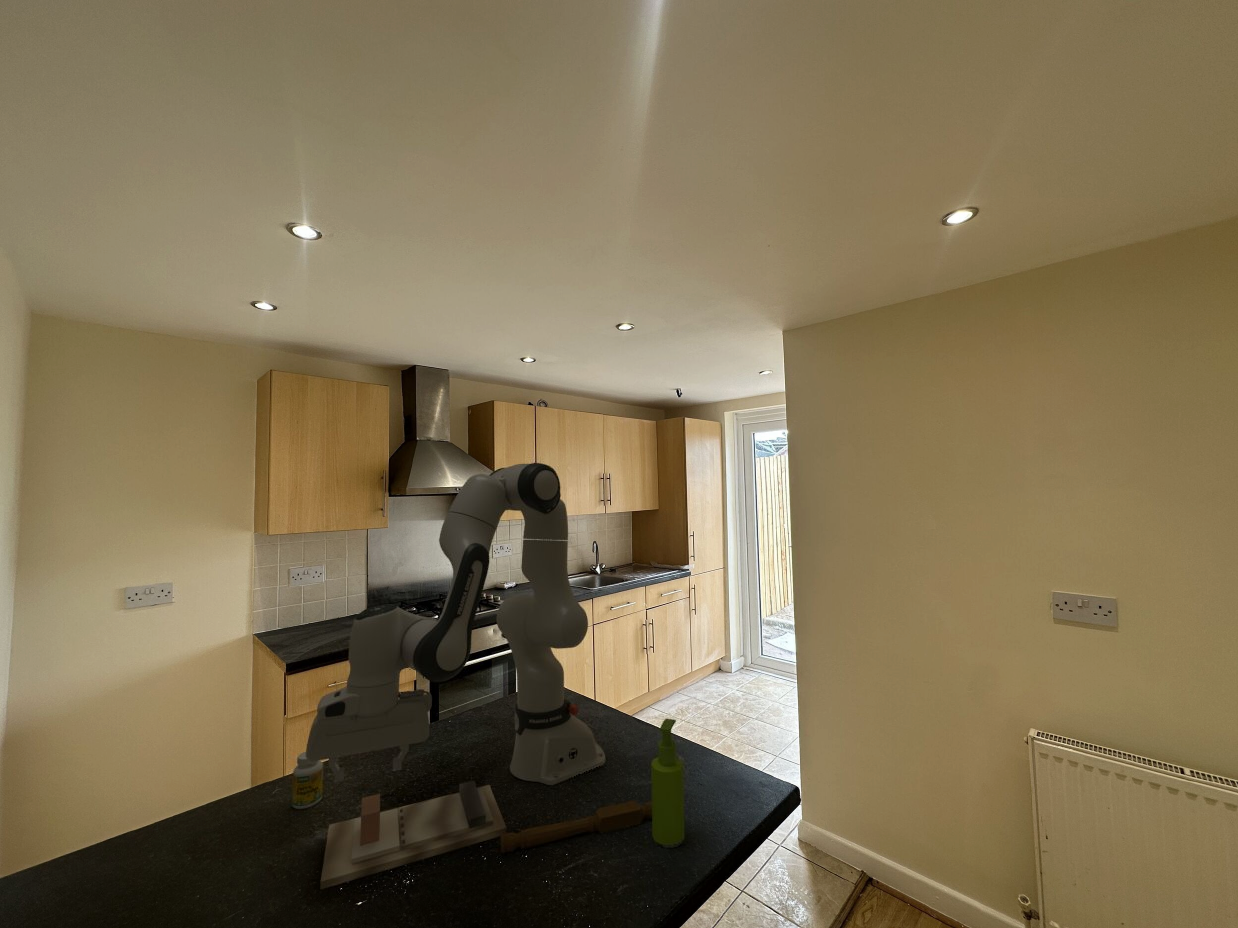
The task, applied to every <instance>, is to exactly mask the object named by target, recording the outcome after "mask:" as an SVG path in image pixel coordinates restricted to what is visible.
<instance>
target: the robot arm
mask: <svg viewBox="0 0 1238 928" xmlns="http://www.w3.org/2000/svg"><path fill="white" fill-rule="evenodd" d="M561 495H562V494H561V483H560V478H559V476H558V474H557V472H556V470H555V469H554V468H553V467H552V466H550V465H548V464H545V463H541V462H531V463H517V464H514V465H511V466H507V467H500V468H498V469H496V470H494V471H492V472H491V473H490V474H485V473H479V474H478V473H477V474H474V475H471V476H469V477H468V479H467V480H466V481H465V482H464V484H463V485H462V486H461V488H460V490H459V491H458V493H457V494H456V496H455V497H454V500H453V502H452V503H451V506H450V508H449V509H448V511H447V514H446V516H445V518H444V521H443V523H442V525H441V530H440V534H439V538H438V542H439V547H440V549H441V551H442V553H443V554H444V556H445V557H446V558H447V559H448V561H449V563H450V564H451V568H452V581H451V583H450V586H449V590H448V593H447V596H446V599H445V602H444V606H443V608H442V611H441V615H440V617H439V618H438V619H437V620H436V619H434V618H430V617H427V616H423V615H418V614H415V613H411V612H409V611H406V610H405V609H403V608H400V606H399V605H397V604H394V603H385V604H378V605H374V606H371V607H367V608H366V609H363V610H362V611H361V612H359V613H358V614H357V615H356V617H355V618H354V620H353V623H352V627H351V631H350V639H349V645H348V646H349V647H348V658H347V659H348V663H349V669H350V670H349V674H348V677H347V680H346V686H345V687H342V688H339V689H337V690H334V691H332V692H329V693H327V694H325V695H323V696H322V697H321V698H320V700H319V701H318V704H317V708H316V709H317V710H316V716H315V717H314V718H313V722H312V724H311V727H310V730H309V734H308V738H307V744H306V750H305V752H306V758H307V759H308V760H309V761H310V762H314V761H319V760H320V761H324V760H328V767H329V768H330V769H331V771H332V772H333V773H334V784H335V783H341V782H344V781H345V773H346V772H345V770H346V768H345V766H343V767H342V766H341V767H340V765H339V764H338V761H339V758H340V757H345V756H346V757H347V756H351V755H356V754H362V753H367V752H375V751H379V750H385V749H390V748H395V747H400V752H399V753H398V755H397V756H396V757H393V758H392V772H396V771H400V770H402V766H403V764H402V763H403V760H404V759H405V757H406V755H407V754H408V752H409V749H410V745H413V744H416V743H424V742H425V741H427V739H428V738H429V736H430V721H429V720H430V718H429V712H430V710H431V708H432V707H433V705H432V704H433V696H432V694H431V692H429V691H428V690H425V689H423V688H421V689H416V690H405V691H400V679H401V678H400V677H401V676H400V674H401V673H402V671H403V670H405V669H411V670H413V671H415V672H417V673H418V674H419V675H421V676H422V677H423V678H424V679H426V680H427V681H429V682H432V683H442V682H446V681H448V680H451V679H453V678H454V677H455V676H457V675H458V674H459V673H460V672H461V671H462V670H463V668H464V667H465V665H467V662H468V660H469V658H470V655H471V652H472V651H471V650H472V636H473V635H472V634H473V633H472V632H473V626H474V622H475V620H476V616H477V611H478V608H479V604H480V601H481V598H482V594H483V592H484V591H483V590H484V587H485V584H486V581H487V580H486V579H487V576H488V572H489V567H490V551H491V547H492V543H493V540H494V537H495V533H496V532H497V529H498V528H499V527H498V526H499V523H500V521H501V518H502V516H503V514H504V513H505V512H506V511H516V512H517V511H519V512H521V514H522V516H523V519H524V520H523V521H524V522H523V523H524V526H523V527H524V528H523V536H522V537H523V539H522V549H521V550H522V551H521V552H522V553H521V567H520V568H521V573H522V575H523V576H524V577H525V579H527V581H528V582H529V584H530V586H531V588H532V592H533V595H529V594H522V595H521V594H520V595H513V596H510V597H507V598H506V599H505V600H503V601H502V603H500V606H499V607H498V610H497V612H496V613H497V614H496V625H497V628H498V630H499V631H500V632H501V634H502V635H503V637H504V638H505V639H506V642H507V644H508V645H509V648H510V652H511V655H512V658H513V660H514V665H515V669H516V671H515V672H516V683H517V685H516V687H517V692H516V693H517V701H516V704H515V712H514V729H515V741H514V749H513V753H512V758H511V761H510V763H509V771H510V773H511V774H512V775H513V776H514V777H516V778H518V779H520V780H523V781H529V782H537V783H541V784H544V785H548V786H554V785H556V784H560V783H562V782H564V781H567V780H569V778H570V779H572V778H574V776H575V777H577V776H579V775H578V774H580V775H582V774H585V773H587V772H589V770H590V771H592V770H595V769H597V768H596V767H598V768H600V767H602V766H604V765H605V764H606V754H605V752H604V750H603V749H602V747H601V746H600V745H599V744H598V743H597V742H596V740H595V736H594V733H593V732H592V730H591V728H590V727H589V726H588V725H587V724H586V723H585V722H583V721H582V720H580V719H579V718H577V717H576V715H578V713H579V710H580V709H579V708H578V706H576V704H574V703H572V702H571V701H569V700H568V699H566V698H565V672H564V671H565V670H564V667H563V665H562V664H561V662H560V660H558V658H556V656H555V654H554V652H553V651H552V649H559V650H560V649H572V648H576V647H577V646H579V645H581V644H582V642H583V640H584V639H585V638H586V636H587V633H588V629H589V628H588V627H589V620H588V615H587V612H586V610H585V609H584V608H583V607H582V606H581V604H580V602H579V601H578V600H577V599H576V596H575V595H574V592H573V590H572V586H571V584H570V578H569V575H568V574H569V573H568V551H569V550H568V548H569V547H568V546H569V542H568V541H569V522H568V521H569V520H568V511H567V506H566V503H565V502H564V501H563V500H562V499H561ZM604 763H605V764H604ZM603 764H604V765H603ZM601 765H602V766H601ZM599 766H600V767H599ZM594 768H595V769H594ZM591 769H592V770H591ZM586 771H587V772H586ZM584 772H585V773H584ZM576 775H577V776H576ZM571 777H572V778H571Z"/></svg>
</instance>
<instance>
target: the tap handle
mask: <svg viewBox="0 0 1238 928" xmlns="http://www.w3.org/2000/svg"><path fill="white" fill-rule="evenodd" d="M645 818H646V819H647V818H652V801H648V802H645V804H644V805H642V804H639V802H638V801H635V800H632V801H626V802H623V803H622V802H621V803H618V804H613V805H612V804H611V805H608V806H604V807H599V808H597V809H596V811H595V814H594V815H588V817H586V818H580V819H574V820H573V819H572V820H568V821H561V822H557V823H552V824H546V825H540V826H535V827H529V828H528V827H527V828H526V829H524V830H523V829H520V831H519V832H518V833H515V832H512V831H509V832H506V835H505V834H502V835H501V836H499V837H500V839H499V841H500V853H502V854H503V855H504V854H505V853H512V852H514V851H515V850H516V849H518V848H520V849H521V850H524V849H525V848H526V849H527V848H528V849H529V848H534V847H537V846H540V845H545V844H547V843H550V842H555V841H558V840H562V839H566V838H569V837H573V836H576V835H579V834H583V833H587V832H590V833H591V834H592V833H594V832H595V831H596V832H598V831H599V832H600V833H599V832H598V833H599V834H601V833H602V832H606V833H608V832H607V831H610V832H612V831H611V830H614V829H619V828H623V827H626V826H631V825H635V824H639V823H641V824H642V822H643V820H644V819H645ZM619 830H620V829H619ZM602 834H603V833H602Z"/></svg>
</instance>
